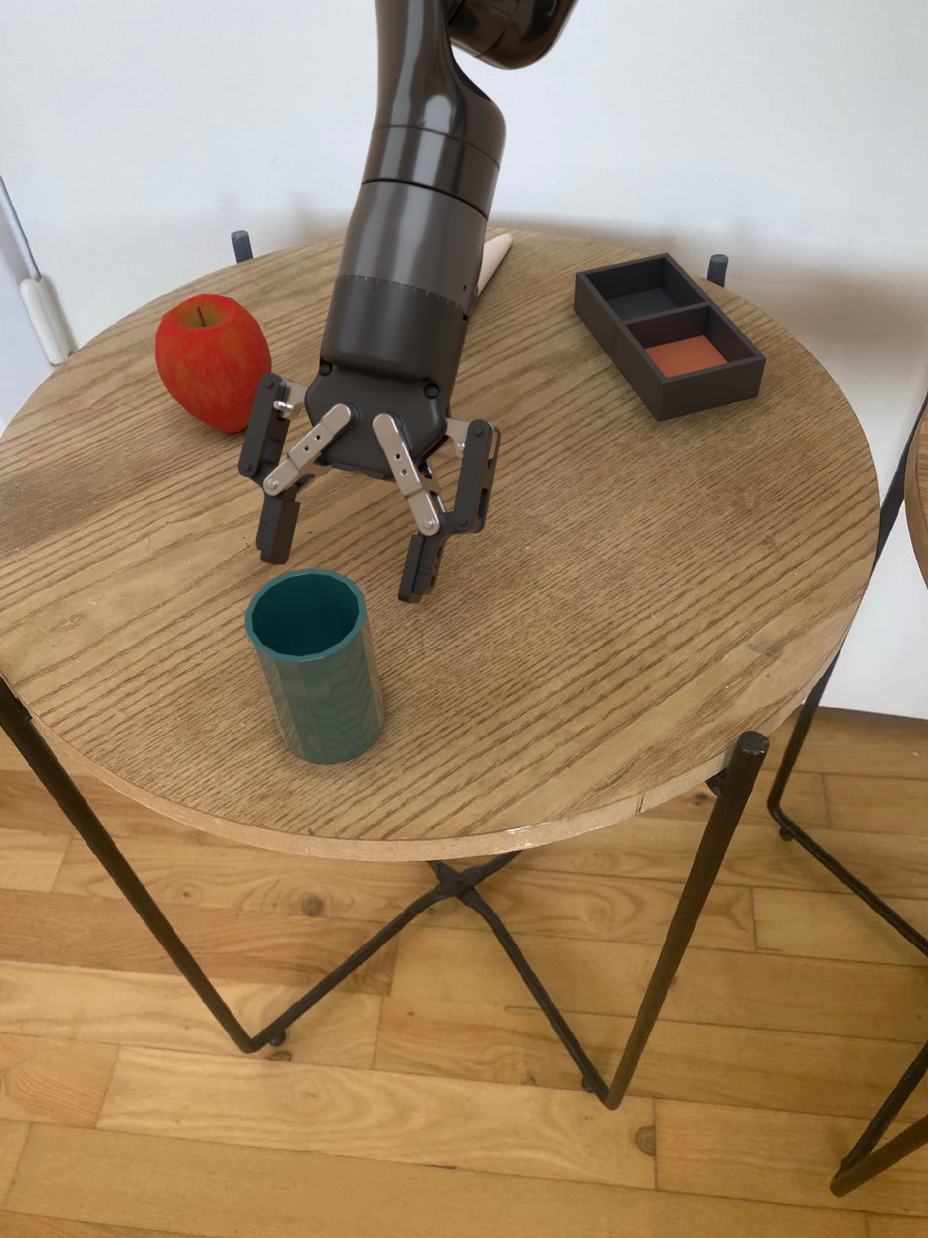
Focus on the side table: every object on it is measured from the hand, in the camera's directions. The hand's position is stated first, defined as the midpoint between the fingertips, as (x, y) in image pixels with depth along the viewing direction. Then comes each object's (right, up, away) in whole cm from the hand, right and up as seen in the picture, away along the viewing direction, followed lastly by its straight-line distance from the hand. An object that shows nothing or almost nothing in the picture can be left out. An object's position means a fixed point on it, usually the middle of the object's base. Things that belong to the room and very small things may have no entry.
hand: (340, 582), depth 54 cm
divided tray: (+24, +21, +27) cm, 42 cm away
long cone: (+8, +27, +34) cm, 44 cm away
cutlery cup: (-1, -8, +4) cm, 9 cm away
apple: (-12, +13, +23) cm, 29 cm away
